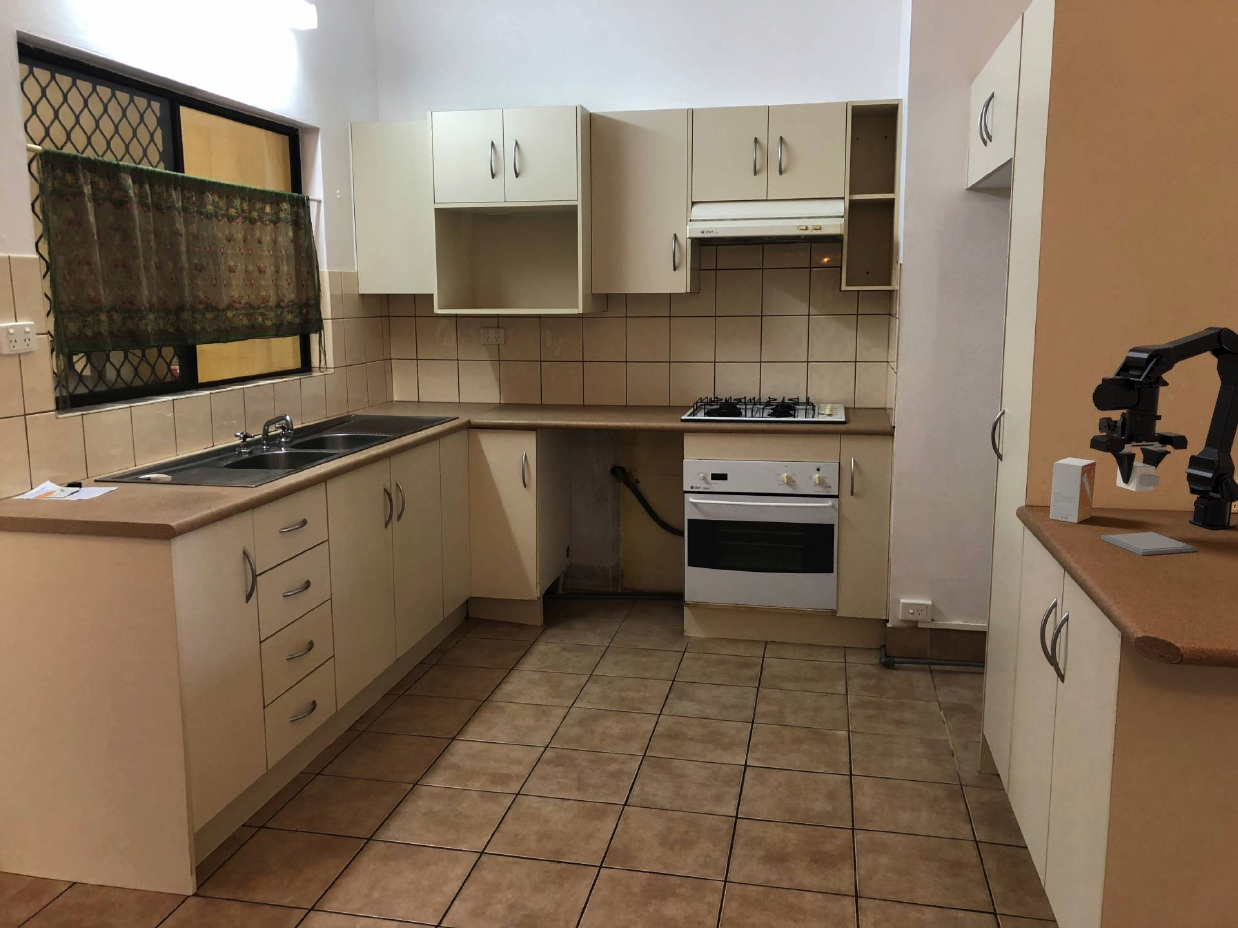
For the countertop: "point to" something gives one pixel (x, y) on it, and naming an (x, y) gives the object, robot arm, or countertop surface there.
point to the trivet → (1147, 543)
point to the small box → (1072, 489)
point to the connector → (1140, 478)
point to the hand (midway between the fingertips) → (1134, 483)
